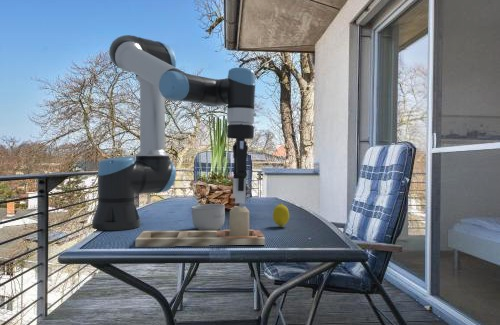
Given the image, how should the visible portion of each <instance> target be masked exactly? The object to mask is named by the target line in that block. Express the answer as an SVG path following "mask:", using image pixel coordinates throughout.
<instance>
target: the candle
mask: <svg viewBox="0 0 500 325" xmlns="http://www.w3.org/2000/svg"><path fill="white" fill-rule="evenodd" d="M228 230H229V236H249V230H250V210H249V209H248V208H247V207H246V206H245V205H244V206H240V205H238V206H237V205H234V206H233V207H232V208H231V209H230V210H229V229H228Z"/></svg>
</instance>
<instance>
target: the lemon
mask: <svg viewBox="0 0 500 325" xmlns="http://www.w3.org/2000/svg"><path fill="white" fill-rule="evenodd" d="M272 219H273V222H274V223H275V224H276V225H277V226H278V227H280V228H282V227H283V226H285V225H286V224H288V222H289V220H290V211H289V208H288V207H287V206H286V205H284V204H283V203H279V204H278V205H277V206H275V207H274V209H273V213H272Z"/></svg>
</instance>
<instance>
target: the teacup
mask: <svg viewBox="0 0 500 325" xmlns="http://www.w3.org/2000/svg"><path fill="white" fill-rule="evenodd" d="M225 209H226V208H225V204H223V203H222V204H220V203H208V204H207V203H206V204H205V203H204V204H197V205H194V206H193V205H192V206H191V216H192V225H193V226H194V227H195V228H196V229H197V231H219V230H221V228H222V227H223V225H224V224H225V220H226V216H225V215H226V214H225V213H226V212H225V211H226V210H225Z"/></svg>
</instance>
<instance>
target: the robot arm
mask: <svg viewBox="0 0 500 325" xmlns="http://www.w3.org/2000/svg"><path fill="white" fill-rule="evenodd" d="M108 52H109V58H110V60H111V62H112V63H113V64H114V66H116V67H117V68H118V69H120V70H123V71H125V72H132V73H133V74H134V75H135V80H136V81H137V82H138V83H139V85H140V86H139V91H140V92H139V96H140V97H139V108H140V109H139V110H140V111H139V118H140V119H139V121H140V122H139V129H140V130H139V133H140V134H139V135H140V136H139V139H140V141H139V142H140V143H139V145H140V146H139V151H138V153H137V154H135V156H118V157H110V158H104V159H102V160H100V161H99V163H98V169H97V188H98V189H97V207H96V210H95V213H94V214H93V218H92V221H91V223H92V224H91V225H92V226H91V228H92V229H94V230H97V231H98V230H99V231H124V230H125V231H126V230H132V229H137V228H140V226H141V219H140V216H139V212H138V209H137V206H136V201H135V200H136V198H135V197H136V195H141V194H159V193H164V192H165V193H166V192H168V191H169V190H170V189H172V187H173V185H174V183H175V182H176V177H177V170H176V166H175V164H174V162H173V161H171V160H170V154H168V152H166V147H165V146H166V140H165V139H166V138H165V137H166V129H165V128H166V127H165V126H166V108H165V107H166V106H165V105H166V102H165V100H166V99H168V100H171V101H176V102H177V101H178V102H179V101H180V102H186V103H193V104H194V103H195V104H201V105H203V106H205V107H217V106H218V107H219V106H225V105H226V106H227V109H226V110H227V114H226V122H227V123H228V124H227V126H226V138H228V139H232V140H234V139H235V142H234V144H233V145H232V153H233V154H232V156H233V170H232V172H233V173H232V174H233V176H232V178H233V179H232V181H233V184H232V186H233V187H232V198H234V204H246V201H247V200H246V196H247V195H246V194H247V176H248V172H247V158H248V146H249V145H247V144H248V142H247V140H251V139H252V140H253V139H254V133H255V127H254V125H253V124H254V122H255V117H256V116H257V113H256V112H255V100H256V99H255V98H256V96H255V95H256V93H255V92H256V74H255V71H254V70H253V69H252V68H247V67H232V68H231V69H229V70H228V74H227V78H221V79H216V78H211V77H205V76H201V75H194V74H190V73H187V72H185V71H182V70H181V69H179V68H177V67H176V66H177V58H176V53H175V51H174V50H173V48H172V47H171V46H170V45H169V44H166V43H163V42H161V41H156V40H152V39H148V38H144V37H141V36H136V35H131V34H126V35H122V36H118V37H116V38H115V39H114V40H113V41H112V42H111V44H110V47H109V49H108Z"/></svg>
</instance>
